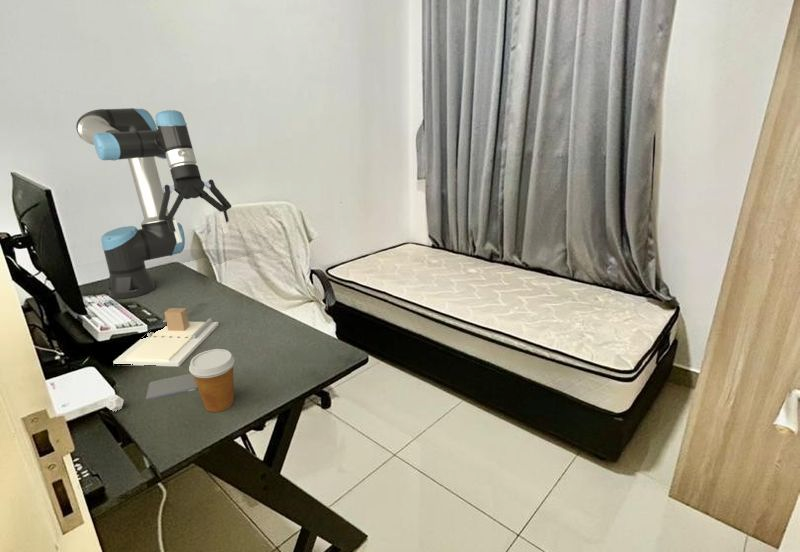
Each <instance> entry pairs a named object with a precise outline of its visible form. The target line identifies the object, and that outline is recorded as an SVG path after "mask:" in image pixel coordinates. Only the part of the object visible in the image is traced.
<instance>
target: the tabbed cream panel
mask: <svg viewBox="0 0 800 552" xmlns="http://www.w3.org/2000/svg"><path fill="white" fill-rule="evenodd" d="M164 316H165V319H166V322H167V326H165V327H164V328H163V329H161V330H158V331H156V332H155V333H153V334H152V336H165V337H170V336H172V337H192V335H193V334H194V333H195V332H196V331H197V330H198V329H199V328H200V327H201V326H202V325H203V324H204V323H189V322H190V321H189V317H188V312H187V308H186V307H185V308H184V307H183V308H182V307H177V308H176V307H169V308H168V309H167V310H165V311H164Z"/></svg>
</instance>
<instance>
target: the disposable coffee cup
mask: <svg viewBox="0 0 800 552" xmlns="http://www.w3.org/2000/svg"><path fill="white" fill-rule="evenodd" d="M189 362H190V363H189V366H188V371H189V372H190V373H192V375H193V377H194V379H195V382H196V385H197V387H198V389H197V391H198V392H199V395H200V397H201V400H202V403H203V406H204V408H205V410H206V411H208V412H210V413H219V412H222V411H225V410H227V409H230V408H231V406H232V405H234V402H235V391H234V390H235V389H234V388H235V387H234V386H235V385H234V384H235V383H234V365H235V362H236V361H235V357H234V356H233V355H232V353H231V352H230V351H229V350H227V349H222V348H214V349H213V348H212V349H208V350H205V351H202V352H200V353H198V354H196V355H195V356H193V357H192V358H191V360H190V361H189Z"/></svg>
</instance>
